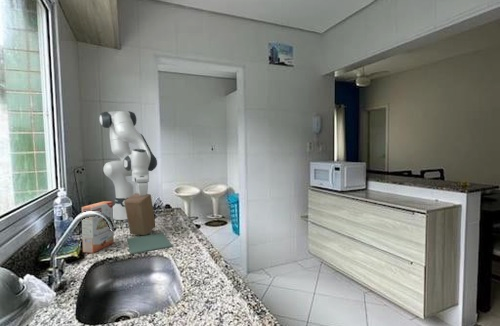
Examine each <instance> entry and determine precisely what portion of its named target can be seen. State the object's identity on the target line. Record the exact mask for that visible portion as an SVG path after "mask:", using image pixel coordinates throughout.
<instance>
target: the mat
mask: <svg viewBox="0 0 500 326" xmlns="http://www.w3.org/2000/svg"><path fill="white" fill-rule="evenodd" d="M126 242H127V246H128V250H129V253H130V255H135V254H136V255H137V254H141V253H146V252H151V251H156V250H157V251H158V250H163V249H167V248H173V245H172V243H171V242H170V240H169V239H168V238H167V236H166V235H165V234H164V232H161V233H154V234H147V235H141V236H135V237H129V238H126Z"/></svg>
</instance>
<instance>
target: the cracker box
mask: <svg viewBox="0 0 500 326" xmlns="http://www.w3.org/2000/svg"><path fill="white" fill-rule="evenodd" d="M113 206H114V202H113V201H111V200H110V201H109V200H108V201H107V200H106V201H100V202H97V203H93V204H92V203H91V204H89V205H84V206H81V214H82V213H83V212H86V211H100V212H102V213H104V214H105V215H107V216H108V217H109V218H110V219H111V221H112V223H113V224H114V219H113ZM81 231H82V232H81V233H82V235H81V236H82V253H85V254H86V253H90V254H94V253H96V252H98V251H100V250H102V249H103V248H106V247H108V246H110V245H112V244H114V241H115V240H114V239H115V238H114V236H115V235H114V232H112V231H111V230H110V229H109V227H108V225H107V224H106V222H105V221H104V220H103V219H101V218H98V217H89V218H85V219H83V220H82V219H81Z"/></svg>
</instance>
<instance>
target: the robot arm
mask: <svg viewBox="0 0 500 326" xmlns="http://www.w3.org/2000/svg"><path fill="white" fill-rule="evenodd" d="M98 119H99V123H100V125H101V127H103V128H104V129H105V128H106V129H109V143H110V148H111V153H112V155H114V156H117V157H118V159H119V160H112V161H108V162H106V163H105V164H103V165H104V166H103V167H102V170H103V173H104V176H106V177H107V178H109V179H110V180H111V182H112V184H113V185H114V192H115V198H114V203H115V204H113V220H116V221H122V220H128V219H127V214H126V208H125V203H124V201H125V200H126V199H128V198H129V197H130V196H132V195H133V194H134V185H135V192H136V193H137V194H139V195H140V196H143V195H147V194H148V187H149V185H148V184H149V182H150V175H149V174H150V172H153V171H154V170H155V169H156V167H157V165H158V160H157V158H156V157H155V155H154V153H153V152H152V150H151V148H150V146H149V144H148V143H147V140H146V138H145V137H144V135H143V134H142V133H140V132H139V131H138V129H136V127H135V126H136V125H137V120H138V119H137V115H136V114H135V112H133V111H125V110H118V111H117V110H116V111H103V112H101V113H100V114H99V118H98ZM130 143H131V144H134V145H136V146H137V147H138V148H135V149H134V148H133V149H132V150H131V147H130ZM126 177H131V182H129V181H127V178H126ZM132 182H134V185H133V184H132Z"/></svg>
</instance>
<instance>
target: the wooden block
mask: <svg viewBox="0 0 500 326" xmlns="http://www.w3.org/2000/svg"><path fill="white" fill-rule="evenodd" d="M124 203H125V208H126V214H127V219H126V220H127V223H128V228H129V233H130V234H131V235H137V236H138V235H141V236H147V235H149V233H150V232H151V231H153V230H154V228H155V227H156V222H155V221H156V220H155V214H154V208H153V200H152V195H151V194H150V193H147V195H143V196H140V195H139V194H138V193H137V192H136V193H133V195H132V196H130V197H129V198H128V199H126V200H125V201H124Z"/></svg>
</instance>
